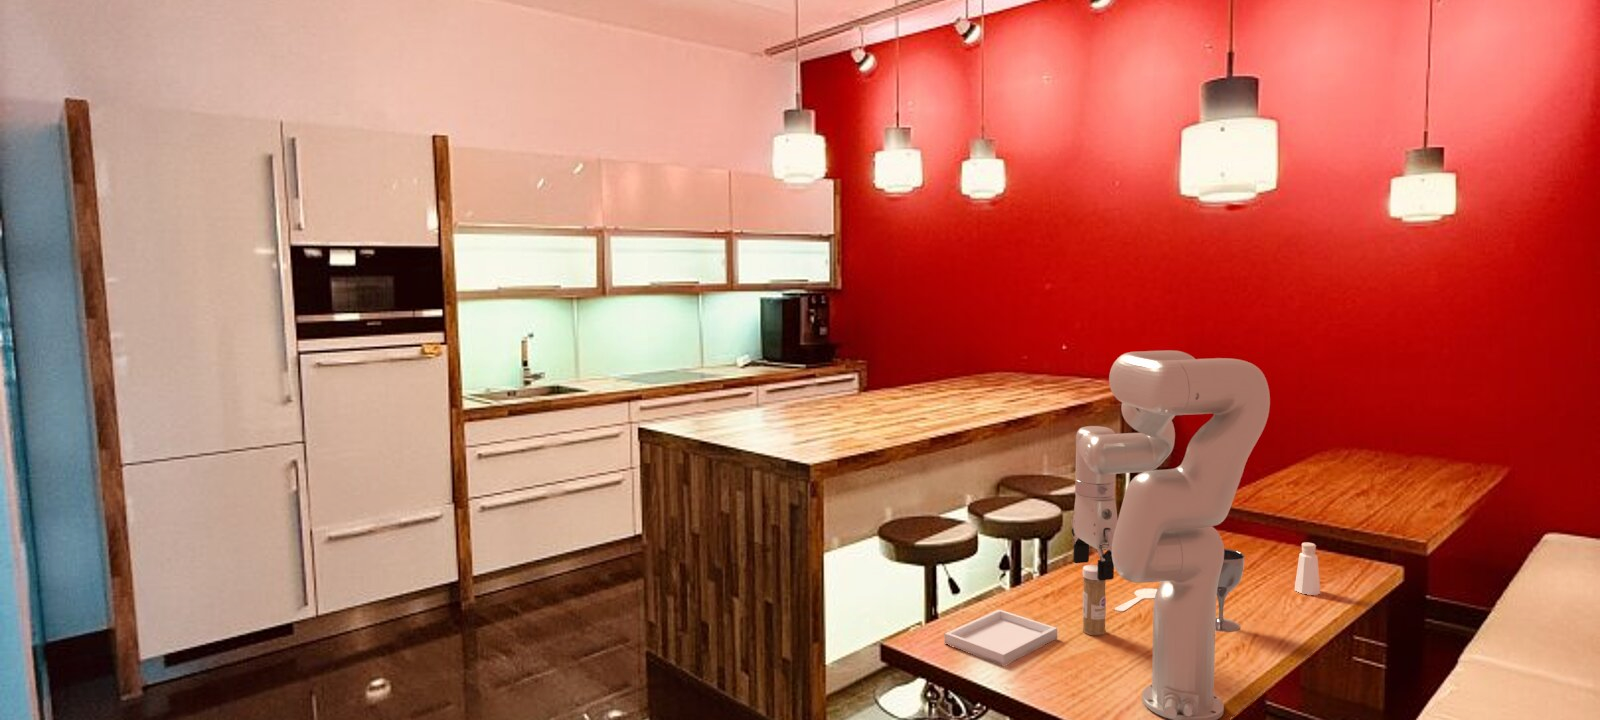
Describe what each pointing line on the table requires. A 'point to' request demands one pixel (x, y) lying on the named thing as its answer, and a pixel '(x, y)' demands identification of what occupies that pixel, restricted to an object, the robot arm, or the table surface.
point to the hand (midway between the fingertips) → (1092, 570)
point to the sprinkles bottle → (1093, 602)
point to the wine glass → (1228, 586)
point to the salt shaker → (1308, 571)
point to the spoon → (1137, 598)
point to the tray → (1001, 636)
